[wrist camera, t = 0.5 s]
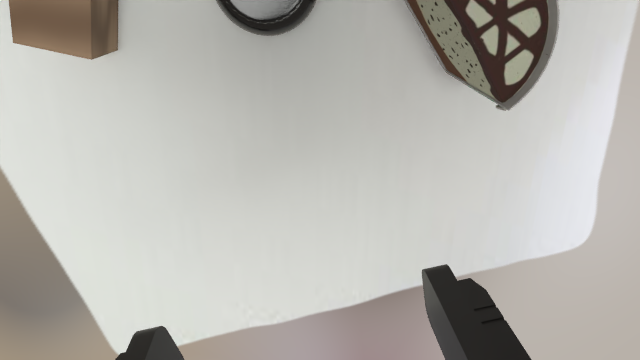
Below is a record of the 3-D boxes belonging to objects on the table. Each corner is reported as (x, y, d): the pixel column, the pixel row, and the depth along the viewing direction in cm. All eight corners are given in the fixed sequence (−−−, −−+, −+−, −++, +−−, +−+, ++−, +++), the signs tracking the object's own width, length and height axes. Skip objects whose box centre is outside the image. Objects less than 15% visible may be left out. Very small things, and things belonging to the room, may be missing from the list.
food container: (510, 43, 34) (592, 60, 25) (452, 85, 35) (511, 116, 27) (449, -90, 29) (525, -125, 20) (384, -35, 30) (428, -46, 21)
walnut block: (48, -34, 28) (4, -39, 24) (118, -16, 29) (90, -17, 25) (52, 35, 30) (13, 42, 26) (118, 49, 31) (91, 59, 27)
